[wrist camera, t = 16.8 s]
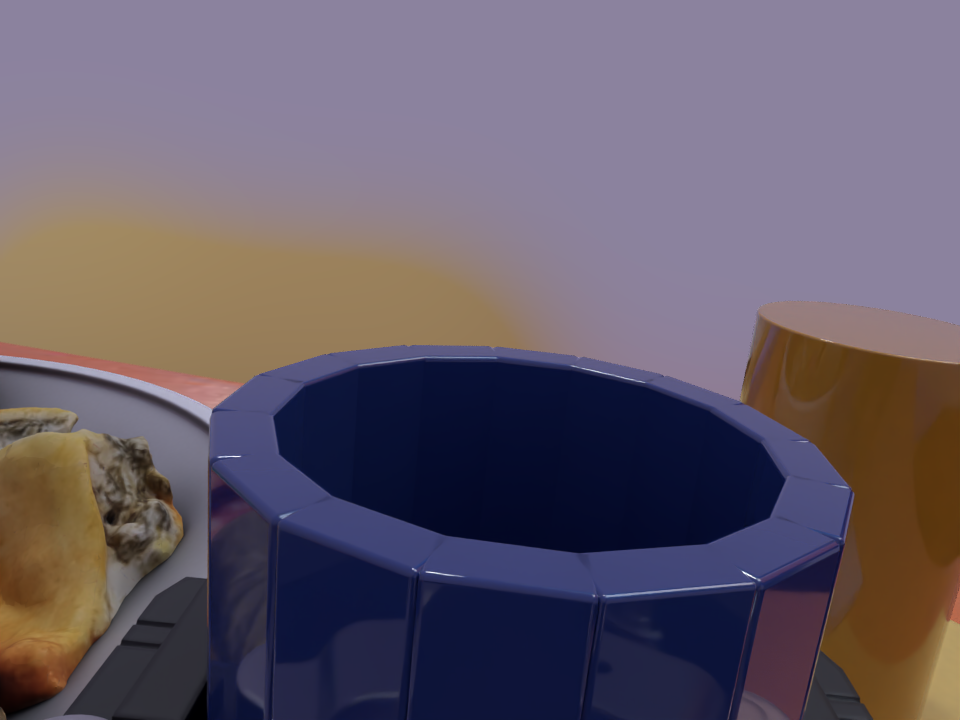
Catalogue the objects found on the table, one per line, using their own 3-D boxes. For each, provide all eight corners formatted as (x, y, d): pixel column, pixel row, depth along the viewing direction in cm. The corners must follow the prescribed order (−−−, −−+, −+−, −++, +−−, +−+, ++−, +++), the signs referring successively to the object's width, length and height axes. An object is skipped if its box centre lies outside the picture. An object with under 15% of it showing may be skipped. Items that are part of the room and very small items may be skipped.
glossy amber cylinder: (957, 695, 22) (1063, 348, 20) (854, 790, 19) (967, 378, 16) (765, 591, 27) (829, 295, 24) (649, 652, 23) (710, 309, 20)
